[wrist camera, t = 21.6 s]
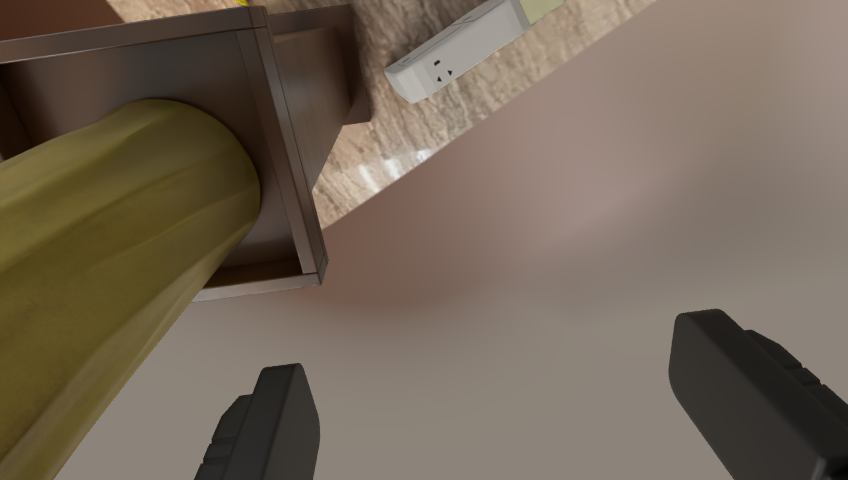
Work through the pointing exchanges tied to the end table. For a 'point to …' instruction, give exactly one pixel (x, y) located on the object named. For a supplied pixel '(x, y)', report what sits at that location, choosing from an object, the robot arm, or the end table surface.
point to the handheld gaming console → (464, 45)
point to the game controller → (243, 2)
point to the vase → (106, 263)
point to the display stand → (211, 110)
